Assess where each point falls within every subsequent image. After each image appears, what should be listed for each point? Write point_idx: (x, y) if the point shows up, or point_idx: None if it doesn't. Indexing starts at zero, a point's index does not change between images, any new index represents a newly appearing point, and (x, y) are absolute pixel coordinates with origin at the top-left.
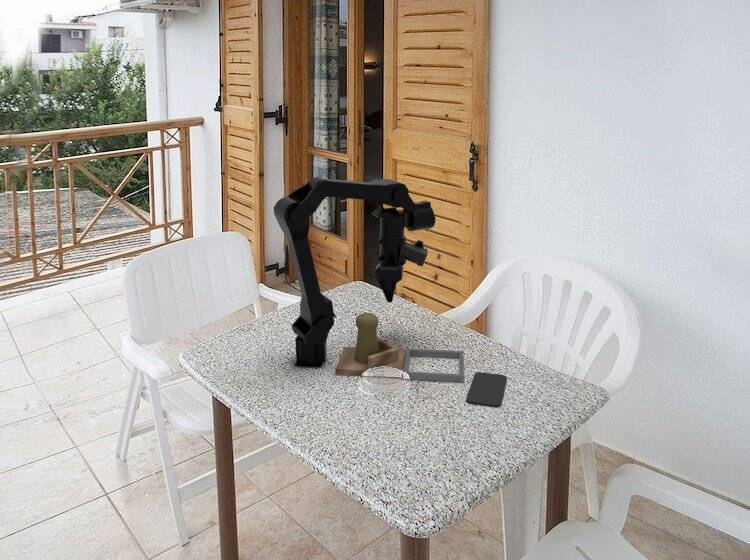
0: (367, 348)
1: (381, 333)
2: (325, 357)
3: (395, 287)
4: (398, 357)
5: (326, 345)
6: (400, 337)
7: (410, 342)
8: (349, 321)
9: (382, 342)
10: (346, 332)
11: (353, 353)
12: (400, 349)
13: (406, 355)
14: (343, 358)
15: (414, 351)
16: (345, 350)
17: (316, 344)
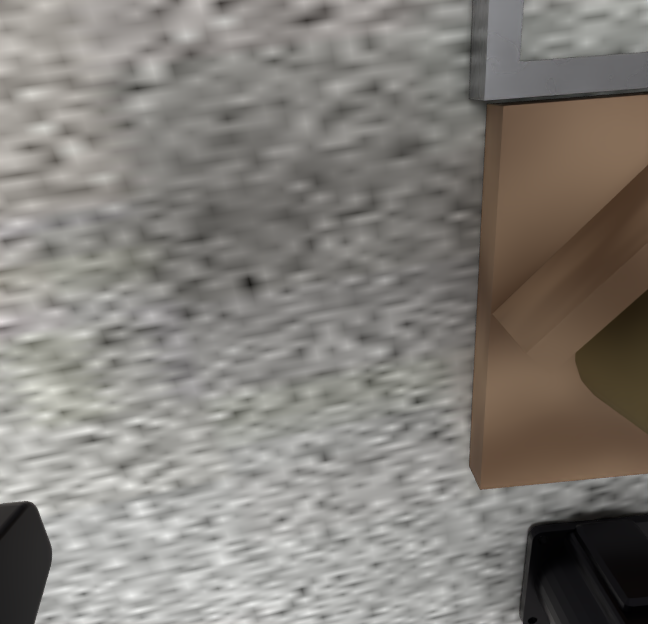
0: None
1: (140, 330)
2: (630, 534)
3: (7, 525)
4: (646, 140)
5: (624, 583)
6: (170, 191)
7: (244, 99)
8: None
9: (637, 293)
10: (190, 512)
11: (575, 424)
12: (504, 147)
13: (616, 82)
14: (640, 456)
15: (517, 26)
16: (532, 470)
17: None
